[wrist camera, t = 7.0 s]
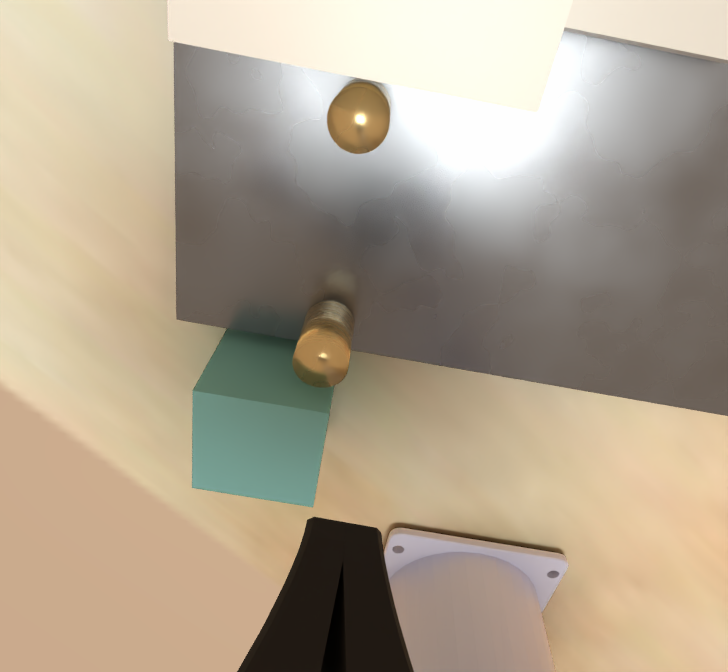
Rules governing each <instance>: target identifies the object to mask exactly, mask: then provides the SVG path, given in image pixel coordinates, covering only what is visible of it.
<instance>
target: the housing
mask: <svg viewBox="0 0 728 672" xmlns="http://www.w3.org/2000/svg"><path fill="white" fill-rule="evenodd" d="M167 13H168V41H172V42H177V43H182V44H187V45H192V46H197V47H202V48H208V49H213V50H218V51H223V52H228V53H233V54H238V55H243V56H249V57H254V58H259V59H264V60H269V61H274V62H279V63H284V64H289V65H295V66H300V67H305V68H310V69H315V70H320V71H325V72H330V73H336V74H341V75H346V76H351V77H356V78H361V79H366V80H371V81H376V82H382V83H387V84H392V85H397V86H402V87H407V88H412V89H417V90H422V91H428V92H433V93H438V94H443V95H448V96H453V97H458V98H463V99H469V100H474V101H479V102H484V103H489V104H494V105H499V106H504V107H509V108H515V109H520V110H525V111H530V112H535V113H538V110H539V107H540V104H541V100H542V97H543V94H544V91H545V88H546V85H547V81H548V78H549V75H550V72H551V69H552V66H553V62H554V59H555V56H556V53H557V50H558V47H559V43H560V40H561V37H562V34H563V31H566V32H571V33H576V34H580V35H585V36H590V37H595V38H600V39H605V40H610V41H615V42H620V43H625V44H630V45H635V46H640V47H645V48H650V49H655V50H660V51H665V52H670V53H675V54H679V55H684V56H689V57H694V58H699V59H704V60H709V61H714V62H719V63H724V64H728V0H167Z"/></svg>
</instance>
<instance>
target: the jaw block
mask: <svg viewBox="0 0 728 672" xmlns="http://www.w3.org/2000/svg"><path fill="white" fill-rule="evenodd" d="M297 343H298V341H297V340H291V339H286V338H280V337H274V336H268V335H263V334H257V333H251V332H246V331H240V330H234V329H227V330H226V332H225V334H224V336H223V338H222V339H221V341H220V343H219V345H218V346H217V348H216V350H215V352H214V354H213V355H212V357H211V359H210V361H209V362H208V364H207V366H206V368H205V370H204V371H203V373H202V375H201V377H200V379H199V380H198V382H197V384H196V386H195V387H194V389H193V431H192V488H196V489H202V490H209V491H215V492H221V493H227V494H233V495H240V496H246V497H252V498H258V499H264V500H271V501H277V502H283V503H289V504H296V505H302V506H308V507H313V505H314V499H315V493H316V488H317V482H318V476H319V471H320V465H321V459H322V454H323V448H324V442H325V437H326V431H327V425H328V419H329V414H330V408H331V402H332V396H333V390H334V386H331V387H326V388H319V387H314V386H311V385H308V384H306V383H305V382H303V381H302V380H301V379H300V378H298V376H297V375H296V373H295V372H294V369H293V365H292V360H293V355H294V352H295V349H296V346H297Z"/></svg>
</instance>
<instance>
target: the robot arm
mask: <svg viewBox="0 0 728 672" xmlns="http://www.w3.org/2000/svg"><path fill="white" fill-rule="evenodd" d="M568 566H569V565H568V562H567V559H566V557H565V556H564V555H563V554H560V553H555V552H549V551H543V550H536V549H530V548H524V547H518V546H512V545H506V544H500V543H493V542H487V541H481V540H475V539H469V538H463V537H456V536H450V535H444V534H438V533H432V532H426V531H419V530H413V529H407V528H395V529H393V530H392V531H391V532H390V533H389V536H388V540H387V543H386V546H385V550H384V551H383V544H382V536H381V532H380V531H379V530H378V529H377V528H374V527H368V526H363V525H357V524H351V523H345V522H340V521H334V520H329V519H323V518H318V517H313V518H311V519H308V520H307V524H306V528H305V532H304V536H303V539H302V542H301V545H300V548H299V550H298V553H297V556H296V558H295V561H294V563H293V565H292V568H291V570H290V572H289V575H288V577H287V579H286V581H285V584H284V586H283V588H282V590H281V592H280V594H279V596H278V598H277V600H276V602H275V604H274V606H273V608H272V610H271V612H270V614H269V616H268V618H267V620H266V622H265V624H264V626H263V627H262V629H261V631H260V633H259V635H258V636H257V638H256V640H255V642H254V643H253V645H252V647H251V649H250V650H249V652H248V654H247V656H246V657H245V659H244V661H243V663H242V664H241V666H240V668H239V670H238V671H237V672H556V671H555V667H554V663H553V658H552V654H551V650H550V646H549V642H548V638H547V634H546V630H545V626H544V622H543V617H542V612H543V610H544V608H545V607H546V605H547V603H548V602H549V600H550V598H551V596H552V595H553V593H554V591H555V589H556V588H557V586H558V584H559V583H560V581H561V579H562V577H563V576H564V574H565V572H566V570H567V569H568Z"/></svg>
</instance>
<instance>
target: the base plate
mask: <svg viewBox="0 0 728 672" xmlns="http://www.w3.org/2000/svg"><path fill="white" fill-rule="evenodd" d="M174 110H175V211H176V312H177V320H183V321H189V322H194V323H200V324H206V325H211V326H217V327H223V328H228V329H234V330H240V331H246V332H251V333H257V334H263V335H268V336H274V337H280V338H286V339H291V340H297V341H298V343H297V346H296V349H295V352H294V355H293V360H292V365H293V369H294V372H295V373H296V375H297V376H298V378H300V379H301V380H302V381H303V382H305V383H306V384H308V385H311V386H314V387H319V388H326V387H331V386H334V385H336V384H338V383H339V382H341V381H342V380H343V379H344V377H345V376H346V374H347V371H348V366H349V359H350V352H351V350H354V351H360V352H366V353H371V354H377V355H383V356H388V357H394V358H400V359H406V360H411V361H417V362H423V363H428V364H434V365H440V366H446V367H451V368H457V369H463V370H468V371H474V372H480V373H486V374H491V375H497V376H503V377H508V378H514V379H520V380H526V381H531V382H537V383H543V384H548V385H554V386H560V387H566V388H571V389H577V390H583V391H588V392H594V393H600V394H606V395H611V396H617V397H623V398H628V399H634V400H640V401H646V402H651V403H657V404H663V405H668V406H674V407H680V408H686V409H691V410H697V411H703V412H708V413H714V414H720V415H726V416H728V64H724V63H719V62H714V61H709V60H704V59H699V58H694V57H689V56H684V55H679V54H675V53H670V52H665V51H660V50H655V49H650V48H645V47H640V46H635V45H630V44H625V43H620V42H615V41H610V40H605V39H600V38H595V37H590V36H585V35H580V34H576V33H571V32H566V31H563V34H562V37H561V40H560V43H559V47H558V50H557V53H556V56H555V59H554V62H553V66H552V69H551V72H550V75H549V78H548V81H547V85H546V88H545V91H544V94H543V97H542V100H541V104H540V107H539V110H538V113H535V112H530V111H525V110H520V109H515V108H509V107H504V106H499V105H494V104H489V103H484V102H479V101H474V100H469V99H463V98H458V97H453V96H448V95H443V94H438V93H433V92H428V91H422V90H417V89H412V88H407V87H402V86H397V85H392V84H387V83H382V82H376V81H371V80H366V79H361V78H356V77H351V76H346V75H341V74H336V73H330V72H325V71H320V70H315V69H310V68H305V67H300V66H295V65H289V64H284V63H279V62H274V61H269V60H264V59H259V58H254V57H249V56H243V55H238V54H233V53H228V52H223V51H218V50H213V49H208V48H202V47H197V46H192V45H187V44H182V43H177V42H174Z"/></svg>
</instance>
